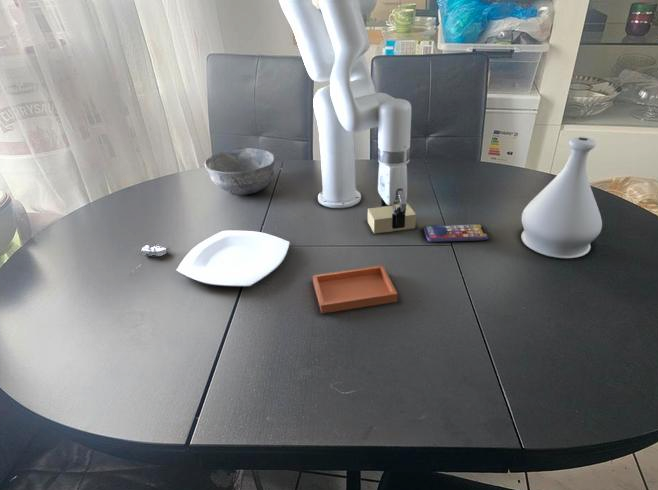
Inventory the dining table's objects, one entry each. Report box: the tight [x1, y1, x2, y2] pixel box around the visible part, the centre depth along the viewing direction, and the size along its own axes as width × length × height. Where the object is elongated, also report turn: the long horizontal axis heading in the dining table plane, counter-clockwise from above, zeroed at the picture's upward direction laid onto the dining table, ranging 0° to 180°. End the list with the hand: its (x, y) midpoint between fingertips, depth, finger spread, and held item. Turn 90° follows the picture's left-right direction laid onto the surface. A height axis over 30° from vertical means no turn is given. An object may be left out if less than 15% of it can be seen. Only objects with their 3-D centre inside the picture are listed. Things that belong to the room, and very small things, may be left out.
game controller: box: [130, 243, 168, 274], centre depth 105 cm, size 6×12×3 cm, turn 2°
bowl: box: [203, 147, 276, 195], centre depth 135 cm, size 21×21×10 cm
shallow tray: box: [312, 265, 398, 314], centre depth 93 cm, size 11×16×2 cm
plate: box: [176, 229, 291, 288], centre depth 104 cm, size 23×23×2 cm
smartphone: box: [423, 223, 489, 243], centre depth 112 cm, size 1×7×15 cm
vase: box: [520, 136, 603, 259], centre depth 101 cm, size 17×17×25 cm
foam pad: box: [367, 203, 417, 235], centre depth 116 cm, size 6×11×4 cm, turn 102°
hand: (392, 219), depth 116 cm, fingers open, 9 cm apart
